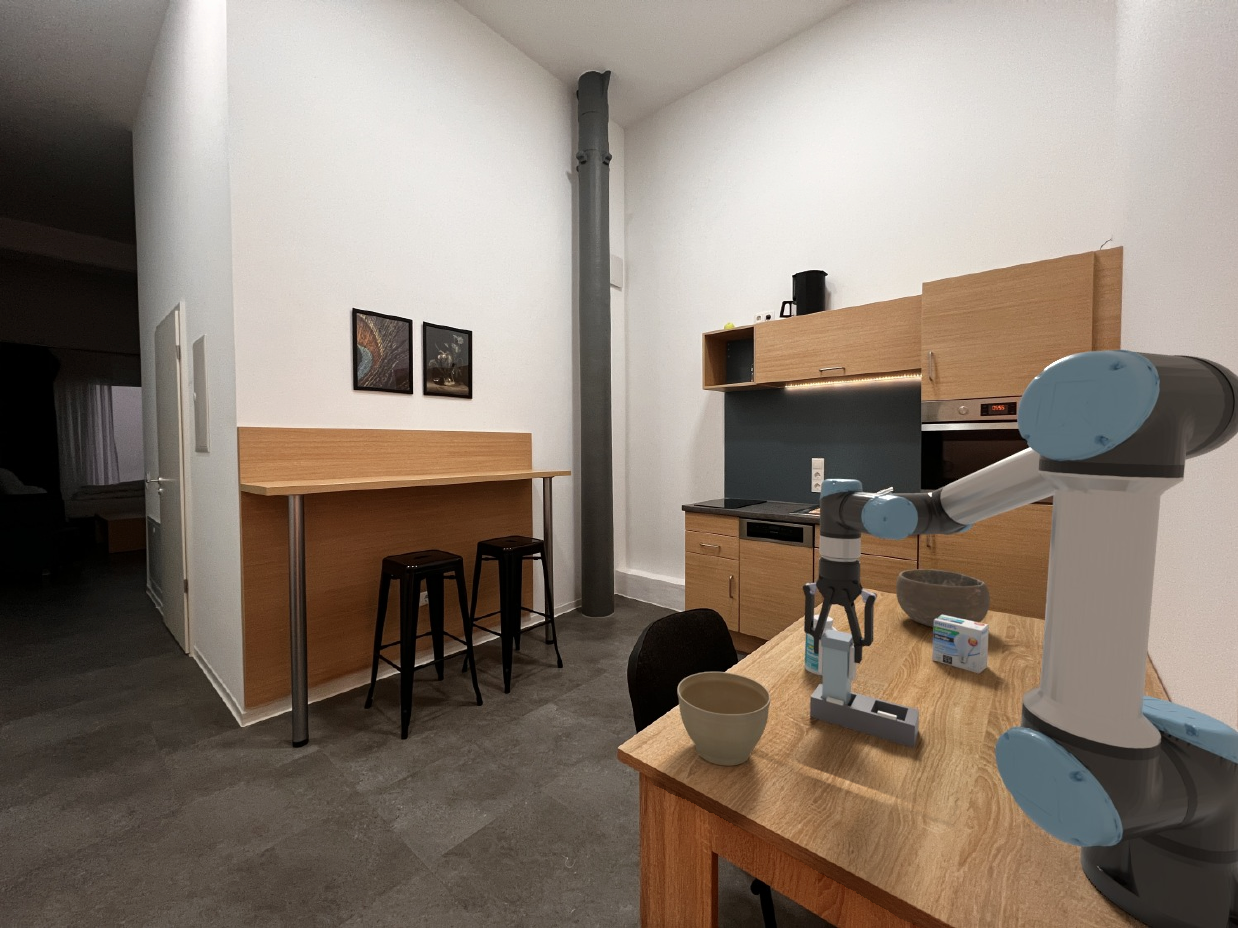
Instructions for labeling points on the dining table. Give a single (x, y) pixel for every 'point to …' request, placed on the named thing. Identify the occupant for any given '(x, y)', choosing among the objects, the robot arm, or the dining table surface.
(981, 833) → the dining table surface
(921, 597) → the bowl
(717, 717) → the planter bowl
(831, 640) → the plug
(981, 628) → the light bulb box
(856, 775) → the dining table surface
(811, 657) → the pill bottle
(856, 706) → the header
